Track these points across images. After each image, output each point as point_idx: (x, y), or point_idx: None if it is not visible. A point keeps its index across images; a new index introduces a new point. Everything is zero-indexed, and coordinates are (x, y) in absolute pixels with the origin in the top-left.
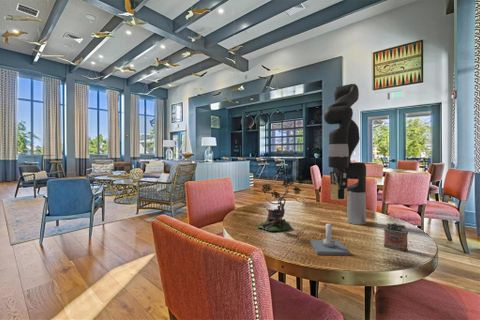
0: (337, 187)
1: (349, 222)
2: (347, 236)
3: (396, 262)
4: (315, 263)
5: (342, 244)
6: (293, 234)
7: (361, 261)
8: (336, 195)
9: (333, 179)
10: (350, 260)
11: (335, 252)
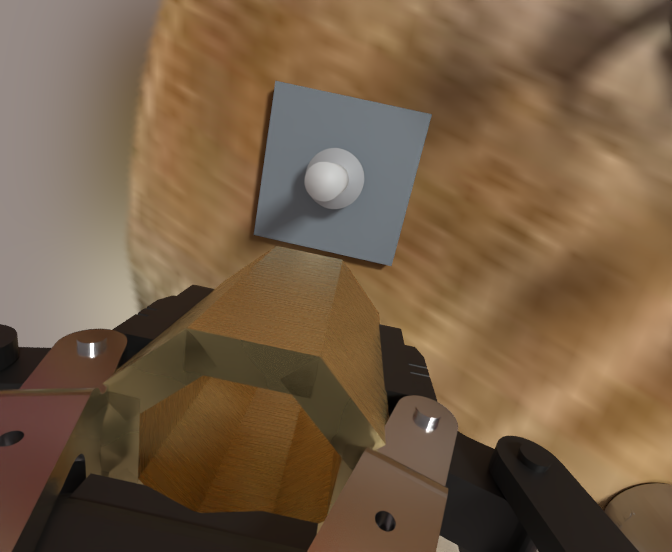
0: (137, 354)
1: (657, 485)
2: (466, 351)
3: None
4: (191, 29)
5: (339, 251)
6: (596, 66)
7: (200, 240)
8: (217, 289)
9: (320, 531)
10: (211, 203)
11: (264, 170)
